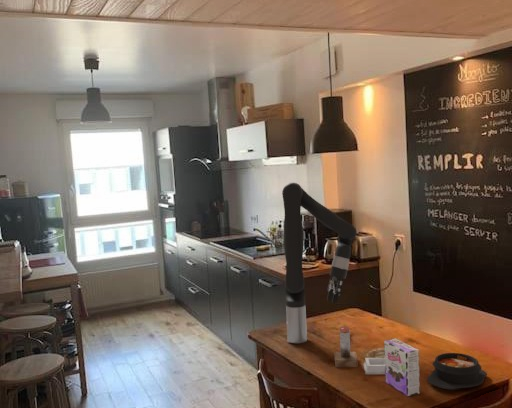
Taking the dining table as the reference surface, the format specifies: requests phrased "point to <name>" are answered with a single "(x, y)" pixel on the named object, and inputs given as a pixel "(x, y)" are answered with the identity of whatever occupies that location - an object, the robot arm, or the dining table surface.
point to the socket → (374, 365)
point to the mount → (346, 360)
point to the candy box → (402, 366)
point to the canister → (345, 341)
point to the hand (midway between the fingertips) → (331, 301)
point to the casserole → (456, 371)
